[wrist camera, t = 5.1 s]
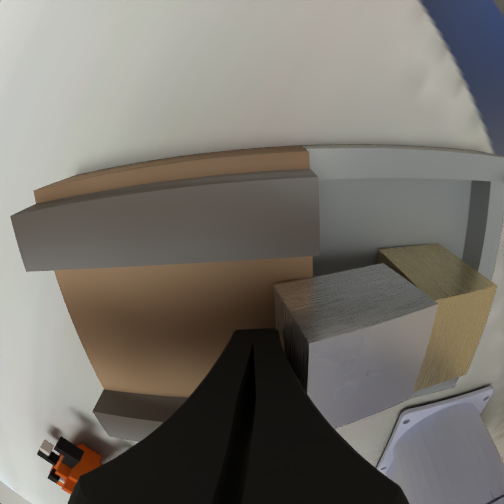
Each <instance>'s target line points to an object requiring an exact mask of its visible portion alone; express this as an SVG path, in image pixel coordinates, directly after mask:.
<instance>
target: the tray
mask: <svg viewBox="0 0 504 504" xmlns="http://www.w3.org/2000/svg"><path fill="white" fill-rule="evenodd" d="M300 147H302V148H304V149H306V150H308V151H309V159H310V169H311V170H312V171H313V172H314V173H315V174H316V175H317V176H318V180H319V211H320V256H313V277H317V276H322V275H327V274H332V273H337V272H342V271H347V270H352V269H356V268H361V267H366V266H371V265H376V264H377V261H378V249H388V248H397V247H407V246H416V245H425V244H434V243H439V244H440V245H442V246H443V247H445V248H446V249H448V250H449V251H450V252H452V253H453V254H455V255H456V256H458V257H459V258H460V259H462V260H463V261H465V262H466V263H467V264H469V265H470V266H471V267H473V268H474V269H475V270H477V271H478V272H480V273H481V274H482V275H483V276H485V277H486V278H487V279H489V280H490V281H491V280H492V276H493V271H494V267H495V262H496V257H497V252H498V247H499V242H500V236H501V230H502V223H503V216H504V157H502V156H498V155H494V154H490V153H485V152H481V151H472V150H462V149H451V148H439V147H425V146H406V145H371V144H338V145H302V146H300ZM458 378H459V377H457V378H454V379H451V380H449V381H446V382H443V383H440V384H437V385H434V386H431V387H428V388H425V389H422V390H418V391H415V392H412V394H411V396H410V398H412V397H416V396H421V395H425V394H429V393H433V392H438V391H441V390H445V389H449V388H453V387H455V385H456V382H457V380H458Z"/></svg>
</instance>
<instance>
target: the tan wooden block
mask: <svg viewBox="0 0 504 504" xmlns="http://www.w3.org/2000/svg"><path fill="white" fill-rule="evenodd" d="M380 263H384V264H385V265H387V266H388V267H390V268H391V269H392V270H394V271H395V272H397V273H398V274H399V275H401V276H402V277H403V278H405V279H406V280H408V281H409V282H410V283H412V284H413V285H414V286H416V287H417V288H418V289H420V290H421V291H422V292H424V293H425V294H426V295H428V296H429V297H430V298H432V299H433V300H434V301H436V302H437V303H438V308H437V313H436V317H435V321H434V324H433V328H432V332H431V335H430V339H429V343H428V346H427V349H426V353H425V356H424V359H423V362H422V365H421V368H420V371H419V374H418V377H417V380H416V383H415V386H414V388H413V391H412V392H415V391H418V390H422V389H425V388H428V387H431V386H434V385H437V384H440V383H443V382H446V381H449V380H451V379H454V378H457V377H460V376H462V375H465V374H466V373H467V370H468V368H469V366H470V363H471V361H472V359H473V356H474V354H475V351H476V349H477V346H478V343H479V341H480V338H481V335H482V332H483V330H484V327H485V324H486V321H487V318H488V315H489V312H490V308H491V305H492V302H493V298H494V295H495V291H496V288H497V285H495V284H494V283H493V282H491V281H490V280H489V279H487V278H486V277H485V276H483V275H482V274H481V273H480V272H478V271H477V270H475V269H474V268H473V267H471V266H470V265H469V264H467V263H466V262H465V261H463V260H462V259H460V258H459V257H458V256H456V255H455V254H453V253H452V252H450V251H449V250H448V249H446V248H445V247H443V246H442V245H440V244H439V243H434V244H425V245H416V246H407V247H397V248H388V249H378V261H377V264H380Z"/></svg>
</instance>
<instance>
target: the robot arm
mask: <svg viewBox="0 0 504 504" xmlns="http://www.w3.org/2000/svg"><path fill="white" fill-rule="evenodd" d="M493 391H494V389H493V387H492V386H488V387H485V388H482V389H479V390H476V391H473V392H470V393H467V394H464V395H461V396H457V397H454V398H450V399H447V400H443V401H439V402H436V403H432V404H428V405H424V406H419V407H415V408H411V409H407V410H405V411H403V412H402V413H401V415H400V417H399V419H398V422H397V424H396V426H395V429H394V431H393V433H392V436H391V438H390V440H389V443H388V445H387V447H386V449H385V451H384V453H383V456H382V458H381V460H380V462H379V464H378V466H377V468H375V467H374V466H372V465H371V464H370V463H369V462H368V461H367V460H365V459H364V458H363V457H362V456H361V455H360V454H358V453H357V452H356V451H355V450H354V449H353V448H352V447H351V446H350V445H349V444H348V443H347V442H346V441H345V440H344V439H343V438H342V437H341V436H340V435H339V434H338V433H337V432H336V430H335V429H334V428H333V427H332V426H331V425H330V424H329V422H328V421H327V420H326V419H325V418H324V416H323V415H322V414H321V412H320V411H319V410H318V409H317V407H316V406H315V405H314V403H313V402H312V400H311V399H310V397H309V396H308V394H307V393H306V391H305V390H304V388H303V387H302V385H301V383H300V382H299V380H298V378H297V376H296V375H295V373H294V371H293V369H292V367H291V365H290V363H289V361H288V359H287V357H286V354H285V352H284V349H283V347H282V344H281V341H280V337H279V331H278V330H277V329H276V328H264V329H240V330H235V331H234V332H233V334H232V336H231V338H230V340H229V341H228V343H227V345H226V347H225V348H224V350H223V352H222V353H221V355H220V356H219V358H218V359H217V361H216V362H215V364H214V365H213V367H212V368H211V370H210V371H209V372H208V374H207V375H206V377H205V378H204V379H203V380H202V382H201V383H200V384H199V385H198V387H197V388H196V389H195V390H194V392H193V393H192V394H191V395H190V396H189V397H188V399H187V400H186V401H185V402H184V403H183V404H182V405H181V406H180V407H179V408H178V409H177V410H176V411H175V412H174V413H173V414H172V415H171V416H170V417H169V418H168V419H167V420H166V421H164V422H163V423H162V424H161V425H160V426H159V427H158V428H157V429H155V430H154V431H153V432H152V433H150V434H149V435H148V436H147V437H145V438H144V439H143V440H141V441H140V442H138V443H137V444H136V445H134V446H133V447H131V448H130V449H128V450H127V451H125V452H124V453H122V454H121V455H119V456H118V457H116V458H114V459H113V460H111V461H109V462H107V463H105V464H103V465H101V466H99V467H97V468H96V469H94V470H92V471H90V472H88V473H85V474H83V475H81V476H80V477H79V479H78V481H77V483H76V484H75V486H74V488H73V491H72V494H71V496H70V499H69V501H68V504H504V463H503V461H502V459H501V457H500V454H499V452H498V450H497V448H496V446H495V444H494V442H493V440H492V438H491V436H490V434H489V432H488V430H487V428H486V426H485V424H484V422H483V420H482V418H481V416H480V414H481V413H482V411H483V409H484V407H485V406H486V404H487V402H488V401H489V399H490V397H491V395H492V393H493ZM384 474H386V476H385V475H384ZM0 504H1V503H0Z"/></svg>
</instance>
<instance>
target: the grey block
mask: <svg viewBox="0 0 504 504" xmlns="http://www.w3.org/2000/svg"><path fill="white" fill-rule="evenodd" d="M273 286H274V304H275V323H276V329H277V330H278V331H279V337H280V341H281V344H282V347H283V349H284V352H285V354H286V357H287V359H288V361H289V363H290V365H291V367H292V369H293V371H294V373H295V375H296V376H297V378H298V380H299V382H300V383H301V385H302V387H303V388H304V390H305V391H306V393H307V394H308V396H309V397H310V399H311V400H312V402H313V403H314V405H315V406H316V407H317V409H318V410H319V411H320V412H321V414H322V415H323V416H324V418H325V419H326V420H327V421H328V422H329V424H330V425H331V426H332V427H333V428H334V429H335V428H338V427H341V426H344V425H347V424H349V423H352V422H355V421H358V420H360V419H363V418H366V417H368V416H371V415H373V414H376V413H378V412H381V411H383V410H385V409H388V408H390V407H392V406H395V405H397V404H399V403H402V402H404V401H406V400H408V399H410V396H411V394H412V391H413V388H414V386H415V383H416V380H417V377H418V374H419V371H420V368H421V365H422V362H423V359H424V356H425V353H426V349H427V346H428V343H429V339H430V335H431V332H432V328H433V324H434V321H435V317H436V313H437V308H438V303H437V302H436V301H434V300H433V299H432V298H430V297H429V296H428V295H426V294H425V293H424V292H422V291H421V290H420V289H418V288H417V287H416V286H414V285H413V284H412V283H410V282H409V281H408V280H406V279H405V278H403V277H402V276H401V275H399V274H398V273H397V272H395V271H394V270H392V269H391V268H390V267H388V266H387V265H385V264H384V263H380V264H376V265H371V266H366V267H361V268H356V269H352V270H347V271H342V272H337V273H332V274H327V275H322V276H317V277H311V278H306V279H301V280H296V281H290V282H285V283H280V284H274V285H273Z"/></svg>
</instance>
